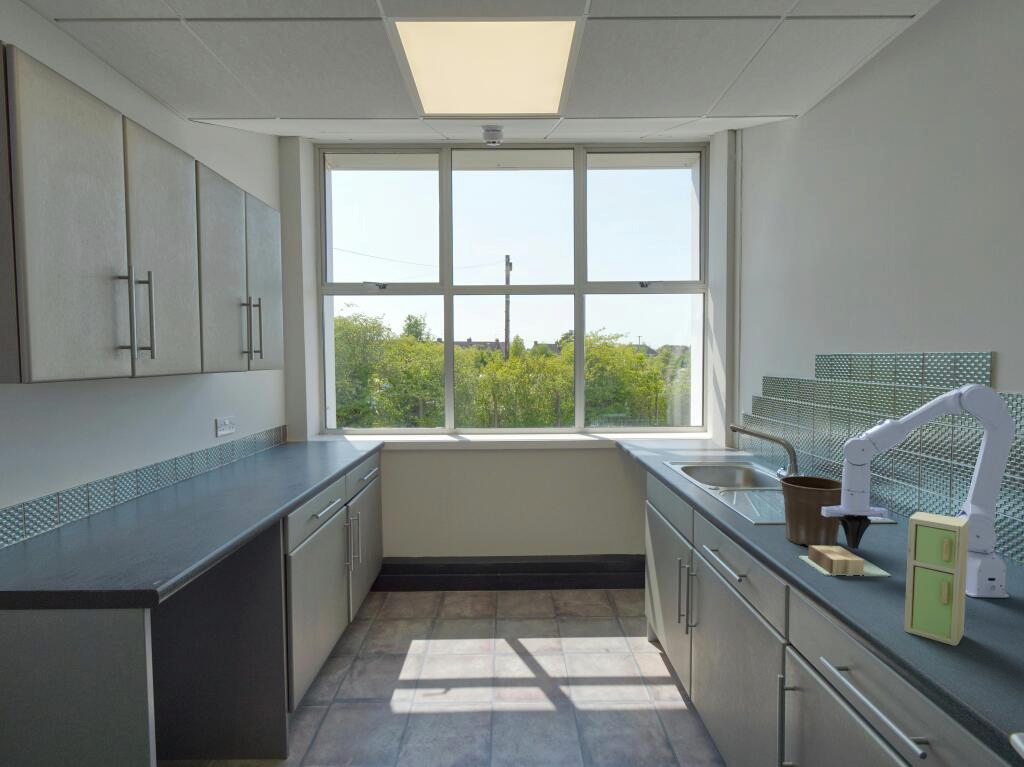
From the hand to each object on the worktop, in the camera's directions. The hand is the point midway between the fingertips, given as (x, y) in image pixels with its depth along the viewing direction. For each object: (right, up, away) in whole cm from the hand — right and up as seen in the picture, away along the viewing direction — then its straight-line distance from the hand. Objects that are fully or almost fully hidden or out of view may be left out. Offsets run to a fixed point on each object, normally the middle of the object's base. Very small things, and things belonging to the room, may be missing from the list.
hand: (852, 547), depth 141 cm
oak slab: (0, -3, 0) cm, 3 cm away
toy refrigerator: (-4, -7, -33) cm, 34 cm away
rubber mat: (-2, -5, +1) cm, 5 cm away
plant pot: (0, -4, +20) cm, 21 cm away
